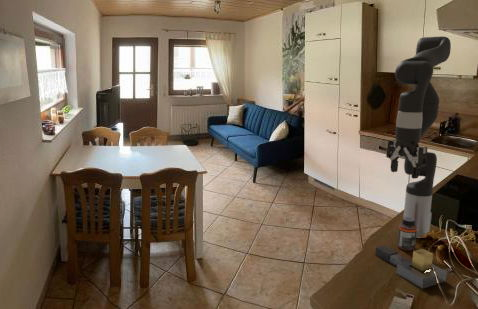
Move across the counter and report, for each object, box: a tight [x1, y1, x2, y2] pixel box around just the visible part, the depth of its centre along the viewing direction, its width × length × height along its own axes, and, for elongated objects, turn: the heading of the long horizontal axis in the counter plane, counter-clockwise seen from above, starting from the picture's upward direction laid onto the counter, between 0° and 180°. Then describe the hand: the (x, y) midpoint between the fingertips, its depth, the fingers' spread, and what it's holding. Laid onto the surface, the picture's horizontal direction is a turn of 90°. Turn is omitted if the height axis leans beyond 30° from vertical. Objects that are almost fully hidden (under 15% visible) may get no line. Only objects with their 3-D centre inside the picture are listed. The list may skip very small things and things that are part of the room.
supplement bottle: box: [397, 216, 417, 252], centre depth 143 cm, size 6×6×11 cm
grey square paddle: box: [375, 244, 448, 289], centre depth 129 cm, size 10×22×3 cm, turn 24°
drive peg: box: [411, 248, 434, 274], centre depth 123 cm, size 4×4×8 cm
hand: (404, 174), depth 129 cm, fingers open, 8 cm apart
